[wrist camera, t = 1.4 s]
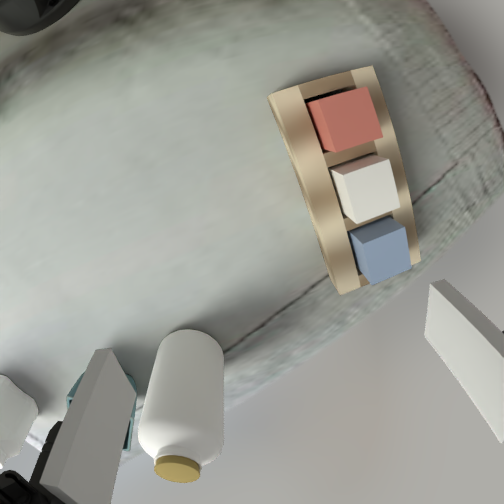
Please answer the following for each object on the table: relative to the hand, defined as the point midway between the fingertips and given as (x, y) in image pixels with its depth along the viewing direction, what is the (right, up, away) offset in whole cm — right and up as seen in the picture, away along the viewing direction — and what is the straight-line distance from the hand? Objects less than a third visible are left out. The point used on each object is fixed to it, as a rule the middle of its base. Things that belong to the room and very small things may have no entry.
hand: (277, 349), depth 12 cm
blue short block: (+11, +5, +21) cm, 24 cm away
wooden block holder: (+9, +11, +20) cm, 25 cm away
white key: (+9, +11, +19) cm, 23 cm away
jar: (-45, -23, +31) cm, 59 cm away
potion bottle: (-9, -9, +28) cm, 30 cm away
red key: (+7, +16, +16) cm, 24 cm away
